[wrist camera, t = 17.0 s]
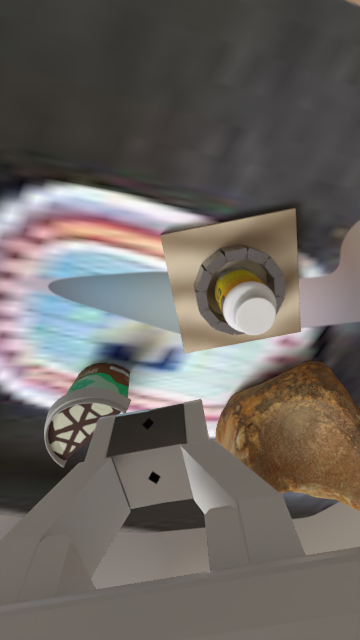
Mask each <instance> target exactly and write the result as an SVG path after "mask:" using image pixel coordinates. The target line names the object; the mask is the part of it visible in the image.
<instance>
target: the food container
mask: <svg viewBox="0 0 360 640" xmlns="http://www.w3.org/2000/svg"><path fill="white" fill-rule="evenodd" d="M129 376H130V372H129V371H127V370H126V369H125V368H123V367H120V366H117V365H115V364H109V363H100V364H94V365H91V366H89V367H87V368H85V369H84V370H83V371H82V372H81V373H80V374H79V375H78V377H77V378H76V380H75V381H74V383H73V385H72V386H71V388H70V389H69V391H68V392H67V394H66V395H64V396H62V397H61V398H60V399H58V400H57V401H56V402H55V403H54V404H53V406H52V407H51V409H50V410H49V412H48V415H47V419H46V424H45V430H44V437H45V444H46V448H47V450H48V452H49V454H50V455H51V457H52V458H53V459H54V460H55V461H56V462H57V463H58V464H59V465H60V466H62V467H64V465H65V463H66V461H67V459H68V458H69V457H70V456H71V455H72V454H73V453H74V452H76V451H77V450H78V449H79V448H80V447H82V446H83V445H84V444H86V443H87V442H88V441H90V440H91V439H92V436H93V433H94V430H95V427H96V424H97V421H98V419H99V418H101V417H106V416H111V415H117V414H120V413H121V412H122V413H126V410H127V409H128V407H129V404H130V401H131V400H130V399H128V387H129Z"/></svg>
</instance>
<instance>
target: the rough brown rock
mask: <svg viewBox="0 0 360 640" xmlns="http://www.w3.org/2000/svg"><path fill="white" fill-rule="evenodd" d="M216 441H217V442H218V443H219V444H220V445H222V446H223V447H224V448H225V449H227V450H228V451H229V452H230V453H231V454H233V455H234V456H235V457H236V458H238V459H239V460H240V461H241V462H242V463H244V464H245V465H246V466H247V467H249V468H250V469H251V470H252V471H253V472H255V473H256V474H257V475H258V476H259V477H261V478H262V479H263V480H264V481H266V482H267V483H268V484H269V485H270V486H272V487H273V488H274V489H275V490H277V491H278V492H279V493H280V494H282V493H284V492H288V491H292V492H297V493H305V494H308V495H311V496H314V497H318V498H328V499H336V500H339V501H340V502H342V503H344V504H346V505H348V506H350V507H352V508H354V509H357V510H360V408H359V407H358V405H357V404H356V403H355V401H354V400H353V399H352V397H351V396H350V395H349V393H348V392H347V390H346V389H345V388H344V386H343V385H342V384H341V382H340V381H339V380H338V379H337V378H336V376H335V375H334V373H333V372H332V371H331V370H330V369H329V368H328V366H327V365H325V364H324V363H322V362H320V361H317V362H316V361H315V362H314V361H306V362H304V363H302V364H300V365H298V366H295V367H293V368H291V369H289V370H287V371H285V372H284V373H282V374H280V375H279V376H277V377H275V378H272V379H270V380H269V381H266V382H264V383H262V384H259V385H257V386H254V387H251V388H248V389H245V390H243V391H241V392H239V393H237V394H235V395H233V396H232V397H231V398H230V399H229V401H228V403H227V405H226V407H225V408H224V410H223V411H222V413H221V416H220V418H219V421H218V424H217V428H216Z"/></svg>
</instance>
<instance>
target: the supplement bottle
mask: <svg viewBox="0 0 360 640" xmlns="http://www.w3.org/2000/svg"><path fill="white" fill-rule="evenodd" d="M214 295H215V298H216V300H217V302H218V305H219V307H220V309H221V311H222V314H223V316H224V318H225V320H226V321H227V323H228V324H229V325H230V326H231V327H232V328H233V329H235V330H237V331H240V332H244V333H246V334H248V335H259V334H262V333H265V332H266V331H268V330H269V329H270V328H271V327H272V325H273V324H274V322H275V319H276V307H277V304H276V298H275V296H274V294H273V292H272V291H271V290H270V288H268V287H267V286H266V285H265V284H264V283H263V282H262V281H261V280H260V279H259V278H258V277H257V276H256V275H254V274H253V273H252V272H251V271H250V270H248V269H246V268H244V267H239V266H236V267H230V268H228V269H226V270H224V271H223V272H222V273H220V275H219V276H218V277H217V279H216V281H215V284H214Z"/></svg>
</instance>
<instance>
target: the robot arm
mask: <svg viewBox="0 0 360 640" xmlns="http://www.w3.org/2000/svg"><path fill="white" fill-rule="evenodd" d="M192 498H194V501H195V502H196V503H197V505H198V506H199V507H200V509H201V510H202V511H203V513H204V514H205V526H206V535H207V546H208V556H209V565H210V571H208V572H202V573H196V574H190V575H184V576H178V577H171V578H165V579H159V580H153V581H146V582H140V583H134V584H128V585H122V586H115V587H109V588H103V589H97V590H96V588H95V586H94V584H93V582H92V580H91V577H92V575H93V574H94V572H95V570H96V569H97V566H98V565H99V563H100V562H101V560H102V558H103V557H104V555H105V553H106V551H107V550H108V548H109V547H110V545H111V543H112V541H113V540H114V538H115V536H116V535H117V533H118V532H119V530H120V528H121V526H122V525H123V523H124V521H125V520H126V518H127V516H128V515H129V513H130V509H133V508H138V507H143V506H148V505H153V504H158V503H164V502H171V501H178V500H185V499H192ZM0 640H360V547H355V548H349V549H343V550H337V551H331V552H324V553H318V554H313V555H305V553H304V550H303V548H302V545H301V543H300V540H299V537H298V535H297V532H296V530H295V527H294V524H293V522H292V519H291V517H290V514H289V511H288V509H287V506H286V504H285V501H284V499H283V496H282V495H281V494H280V493H279V492H278V491H277V490H275V489H274V488H273V487H272V486H270V485H269V484H268V483H267V482H266V481H264V480H263V479H262V478H261V477H259V476H258V475H257V474H256V473H255V472H253V471H252V470H251V469H250V468H249V467H247V466H246V465H245V464H244V463H242V462H241V461H240V460H239V459H238V458H236V457H235V456H234V455H233V454H231V453H230V452H229V451H228V450H227V449H225V448H224V447H223V446H222V445H220V444H219V443H218V442H217V441H216V440H214V439H211V440H209V435H208V430H207V425H206V420H205V415H204V409H203V404H202V400H201V399H199V400H194V401H189V402H185V403H183V404H177V405H172V406H167V407H161V408H156V409H148V410H142V411H136V412H129V413H123V414H117V415H111V416H106V417H101V418H99V419H98V421H97V424H96V427H95V430H94V433H93V436H92V440H91V443H90V446H89V449H88V452H87V455H86V459H85V462H81V463H78V464H77V465H76V466H75V467H74V468H73V469H72V470H71V471H70V472H69V473H68V474H67V475H66V476H65V477H64V478H63V479H62V480H61V481H60V482H59V483H58V484H57V485H56V486H55V487H54V488H53V489H52V490H51V491H50V492H49V493H48V494H47V495H46V496H45V497H44V498H43V499H42V500H41V501H40V502H39V503H38V504H37V505H36V506H35V507H34V508H33V509H32V510H31V511H30V512H29V513H28V514H27V515H26V516H25V517H24V518H22V520H20V521H19V522H18V523H17V524H16V525H15V526H14V527H13V528H12V529H11V530H10V531H9V532H8V533H7V534H6V535H5V536H4V537H3V538H2V539H1V540H0Z"/></svg>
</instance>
